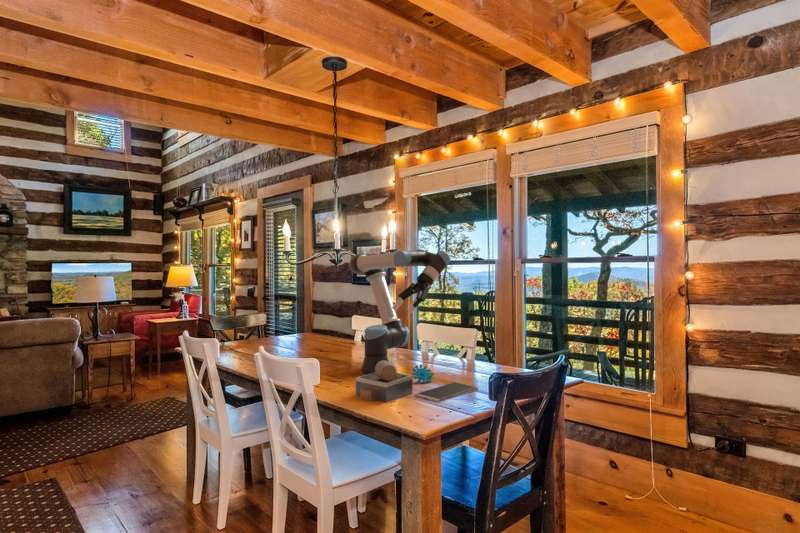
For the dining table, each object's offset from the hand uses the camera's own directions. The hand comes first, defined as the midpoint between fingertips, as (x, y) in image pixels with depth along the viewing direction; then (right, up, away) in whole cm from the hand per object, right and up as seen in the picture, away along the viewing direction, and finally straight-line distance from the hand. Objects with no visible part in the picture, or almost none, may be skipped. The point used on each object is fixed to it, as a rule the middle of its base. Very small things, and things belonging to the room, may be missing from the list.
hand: (400, 310), depth 218 cm
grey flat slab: (+20, -34, -17) cm, 43 cm away
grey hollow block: (-8, -34, -19) cm, 40 cm away
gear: (+11, -34, +2) cm, 36 cm away
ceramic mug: (-5, -28, -17) cm, 33 cm away
